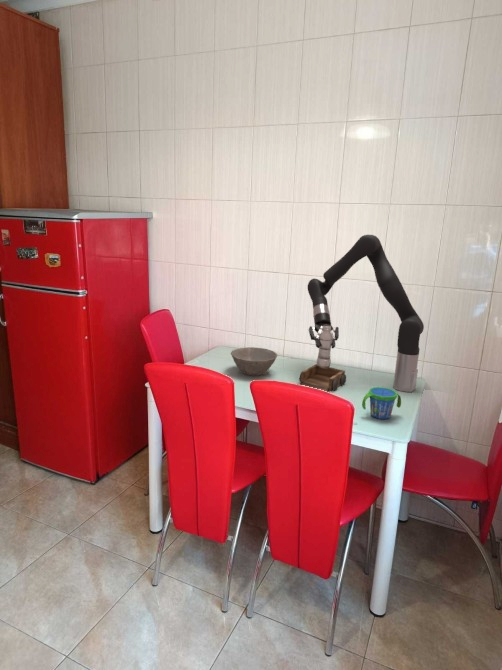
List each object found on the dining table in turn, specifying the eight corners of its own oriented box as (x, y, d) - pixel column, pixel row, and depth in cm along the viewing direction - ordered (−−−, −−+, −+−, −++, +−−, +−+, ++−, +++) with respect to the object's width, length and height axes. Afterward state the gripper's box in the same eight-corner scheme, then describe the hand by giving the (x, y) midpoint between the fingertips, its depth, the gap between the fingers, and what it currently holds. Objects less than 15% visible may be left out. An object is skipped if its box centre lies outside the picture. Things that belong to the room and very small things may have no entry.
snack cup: (365, 421, 176) (368, 396, 173) (356, 410, 186) (359, 386, 184) (404, 421, 178) (408, 396, 175) (394, 410, 188) (397, 387, 185)
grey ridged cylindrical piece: (321, 370, 209) (325, 327, 204) (313, 366, 215) (316, 324, 210) (333, 369, 212) (337, 326, 207) (324, 364, 218) (328, 323, 213)
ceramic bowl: (244, 363, 241) (245, 344, 238) (284, 372, 229) (285, 352, 227) (220, 374, 222) (221, 354, 220) (262, 384, 211) (263, 363, 208)
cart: (327, 395, 201) (329, 382, 199) (293, 386, 210) (294, 373, 208) (346, 383, 217) (347, 371, 215) (313, 375, 226) (314, 363, 225)
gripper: (308, 311, 213) (312, 343, 205) (338, 312, 215) (343, 343, 207) (305, 320, 220) (308, 351, 211) (334, 320, 222) (339, 351, 213)
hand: (326, 347), depth 209 cm, fingers closed on grey ridged cylindrical piece, 6 cm apart
